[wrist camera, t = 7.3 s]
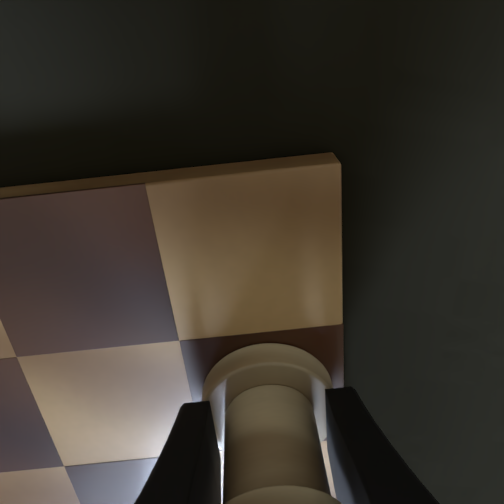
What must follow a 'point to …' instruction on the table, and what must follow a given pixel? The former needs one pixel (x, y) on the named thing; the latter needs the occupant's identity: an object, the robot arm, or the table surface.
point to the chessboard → (152, 309)
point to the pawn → (270, 424)
